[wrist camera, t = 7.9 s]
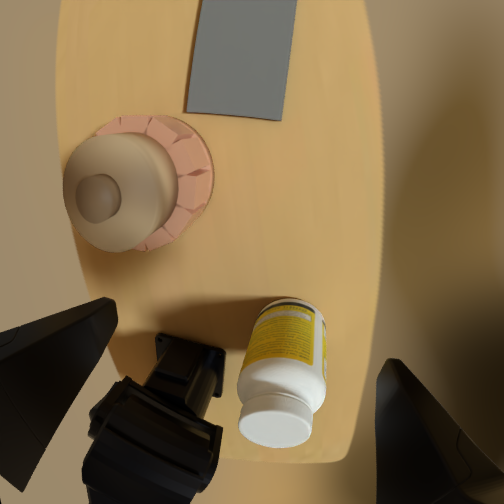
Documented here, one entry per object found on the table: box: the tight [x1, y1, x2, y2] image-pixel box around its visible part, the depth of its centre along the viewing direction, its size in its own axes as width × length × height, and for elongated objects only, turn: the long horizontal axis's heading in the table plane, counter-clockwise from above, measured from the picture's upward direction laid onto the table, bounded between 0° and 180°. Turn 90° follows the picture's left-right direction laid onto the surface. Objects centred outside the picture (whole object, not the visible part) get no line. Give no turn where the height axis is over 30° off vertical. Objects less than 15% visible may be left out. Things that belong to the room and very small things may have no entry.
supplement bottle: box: [237, 299, 326, 448], centre depth 18 cm, size 5×5×10 cm
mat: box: [187, 0, 297, 121], centre depth 15 cm, size 9×6×1 cm, turn 173°
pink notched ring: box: [93, 115, 214, 252], centre depth 18 cm, size 8×8×4 cm
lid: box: [63, 132, 179, 252], centre depth 15 cm, size 6×6×4 cm
